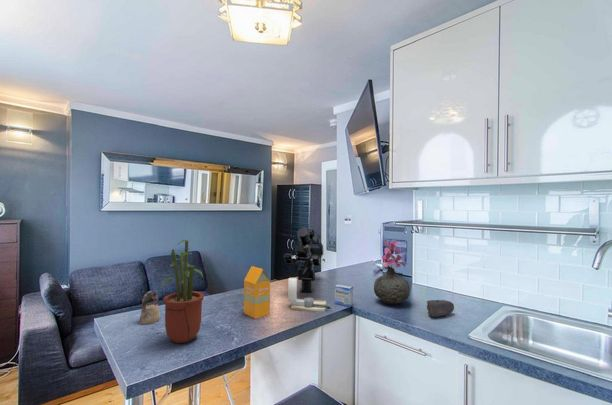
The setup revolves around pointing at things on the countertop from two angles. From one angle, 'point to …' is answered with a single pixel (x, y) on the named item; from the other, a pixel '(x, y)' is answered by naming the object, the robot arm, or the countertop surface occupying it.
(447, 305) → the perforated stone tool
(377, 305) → the countertop surface
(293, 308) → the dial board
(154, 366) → the countertop surface
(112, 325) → the countertop surface
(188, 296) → the potted plant
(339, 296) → the medicine box
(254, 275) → the orange juice
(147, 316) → the figurine
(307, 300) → the crank handle
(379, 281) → the vase
